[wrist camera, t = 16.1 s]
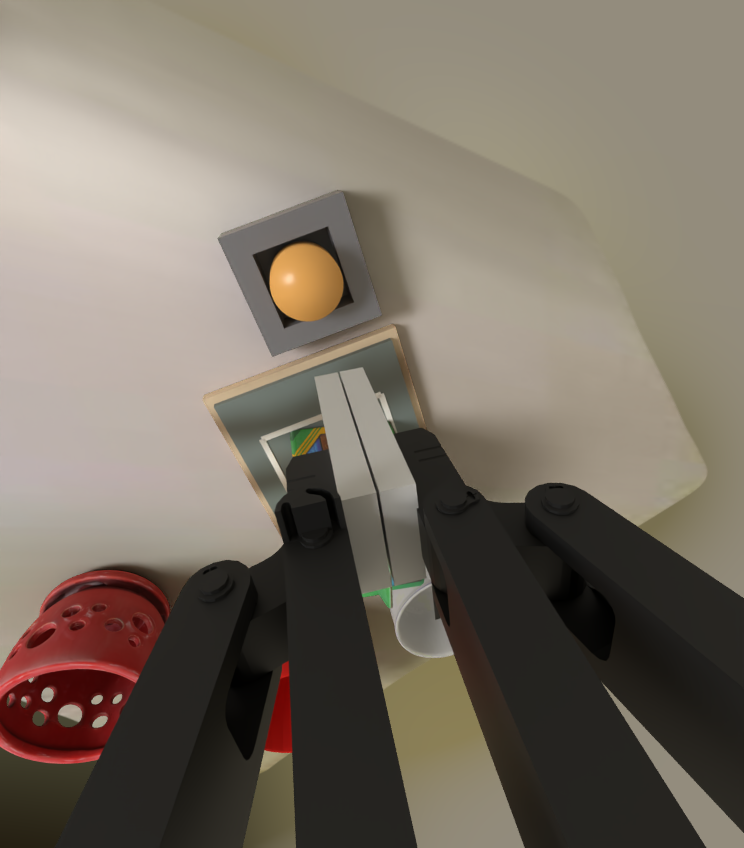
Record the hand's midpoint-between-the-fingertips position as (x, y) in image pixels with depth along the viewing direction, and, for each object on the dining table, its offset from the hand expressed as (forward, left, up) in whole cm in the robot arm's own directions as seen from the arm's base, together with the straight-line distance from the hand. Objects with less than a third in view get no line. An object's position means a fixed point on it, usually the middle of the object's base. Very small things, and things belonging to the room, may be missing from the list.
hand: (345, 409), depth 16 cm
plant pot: (+24, -30, -25) cm, 46 cm away
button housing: (0, 0, -24) cm, 24 cm away
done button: (0, 0, -22) cm, 22 cm away
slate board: (+17, -3, -24) cm, 30 cm away
